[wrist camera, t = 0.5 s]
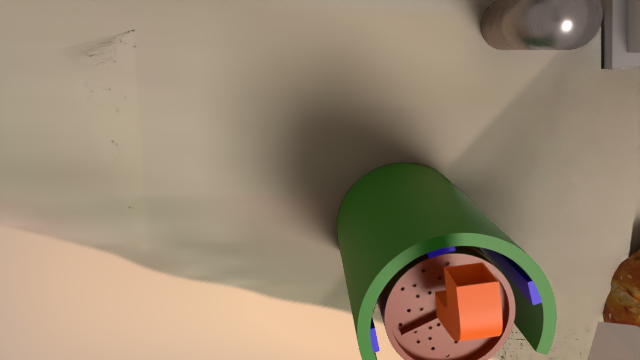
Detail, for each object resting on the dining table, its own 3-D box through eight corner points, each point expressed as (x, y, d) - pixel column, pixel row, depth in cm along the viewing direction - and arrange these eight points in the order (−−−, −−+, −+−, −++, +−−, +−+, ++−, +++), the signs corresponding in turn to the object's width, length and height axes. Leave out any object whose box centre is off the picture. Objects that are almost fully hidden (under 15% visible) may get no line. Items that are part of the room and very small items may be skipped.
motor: (353, 288, 44) (394, 477, 25) (320, 185, 42) (335, 303, 23) (475, 251, 44) (615, 414, 24) (448, 145, 42) (576, 230, 22)
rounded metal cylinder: (479, 2, 39) (537, -13, 30) (528, -4, 39) (602, -21, 30) (482, 52, 40) (539, 53, 30) (529, 46, 40) (602, 45, 30)
